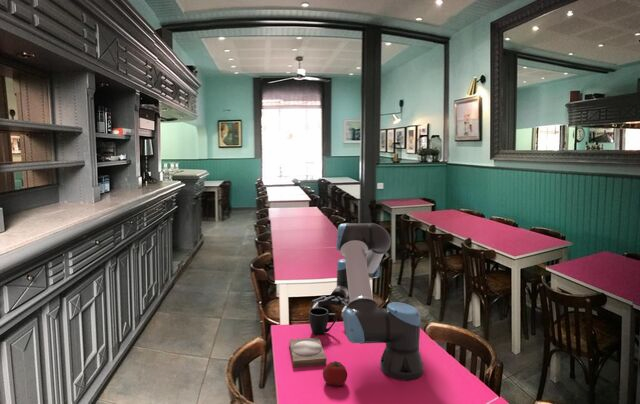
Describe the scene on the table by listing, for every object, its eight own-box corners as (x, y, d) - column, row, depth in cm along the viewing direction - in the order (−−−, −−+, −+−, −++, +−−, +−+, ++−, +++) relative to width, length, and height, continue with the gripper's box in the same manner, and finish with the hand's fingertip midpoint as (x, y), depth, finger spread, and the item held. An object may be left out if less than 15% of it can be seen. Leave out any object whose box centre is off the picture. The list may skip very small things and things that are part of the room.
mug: (335, 338, 162) (335, 316, 160) (307, 335, 164) (307, 314, 163) (338, 329, 170) (338, 309, 168) (311, 327, 172) (311, 306, 171)
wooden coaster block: (326, 364, 142) (326, 357, 142) (293, 367, 140) (293, 360, 140) (319, 343, 158) (319, 336, 157) (289, 345, 156) (289, 338, 155)
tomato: (335, 373, 137) (335, 354, 136) (351, 383, 131) (352, 363, 130) (318, 382, 131) (318, 362, 130) (334, 393, 125) (335, 372, 124)
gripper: (363, 306, 191) (354, 324, 171) (315, 300, 198) (301, 316, 178) (364, 291, 190) (355, 307, 170) (315, 285, 197) (301, 301, 177)
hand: (327, 312), depth 174 cm, fingers open, 13 cm apart
